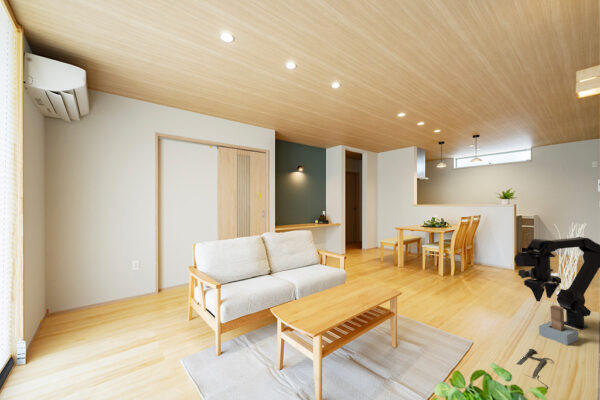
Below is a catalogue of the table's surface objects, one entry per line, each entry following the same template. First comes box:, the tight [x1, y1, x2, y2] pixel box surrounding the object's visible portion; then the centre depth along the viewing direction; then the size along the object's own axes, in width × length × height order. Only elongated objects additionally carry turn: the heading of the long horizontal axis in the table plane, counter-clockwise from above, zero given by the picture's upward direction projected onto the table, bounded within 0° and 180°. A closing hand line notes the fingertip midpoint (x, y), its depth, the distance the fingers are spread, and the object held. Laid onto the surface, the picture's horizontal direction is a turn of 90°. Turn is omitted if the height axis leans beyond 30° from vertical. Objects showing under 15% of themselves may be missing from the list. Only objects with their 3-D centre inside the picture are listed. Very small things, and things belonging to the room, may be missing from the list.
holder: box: [538, 321, 579, 346], centre depth 108 cm, size 9×9×4 cm
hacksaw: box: [516, 348, 554, 390], centre depth 89 cm, size 24×10×2 cm, turn 123°
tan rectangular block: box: [550, 304, 565, 332], centre depth 108 cm, size 3×3×13 cm
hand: (543, 299), depth 118 cm, fingers open, 9 cm apart
